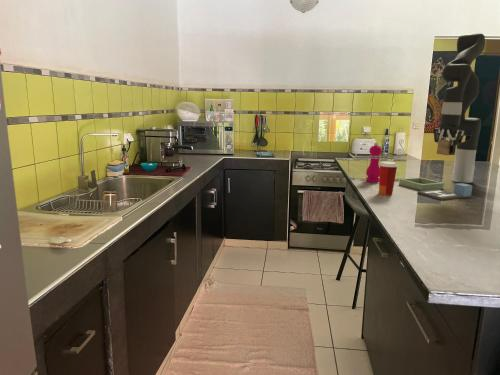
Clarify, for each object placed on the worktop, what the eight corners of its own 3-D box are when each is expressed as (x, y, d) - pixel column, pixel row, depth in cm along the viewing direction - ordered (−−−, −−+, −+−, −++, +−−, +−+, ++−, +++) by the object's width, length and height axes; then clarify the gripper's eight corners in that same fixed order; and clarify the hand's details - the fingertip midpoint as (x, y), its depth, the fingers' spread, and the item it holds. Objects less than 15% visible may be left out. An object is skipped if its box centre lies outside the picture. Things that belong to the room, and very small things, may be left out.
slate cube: (460, 193, 177) (462, 183, 176) (470, 196, 173) (472, 185, 172) (453, 194, 175) (454, 183, 174) (463, 197, 171) (464, 186, 170)
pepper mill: (380, 183, 195) (384, 143, 191) (365, 182, 197) (369, 142, 192) (379, 180, 202) (383, 142, 198) (364, 179, 204) (368, 141, 199)
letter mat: (437, 191, 180) (438, 189, 180) (463, 198, 169) (463, 195, 168) (417, 193, 175) (417, 191, 175) (441, 200, 163) (442, 198, 163)
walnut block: (444, 153, 171) (446, 139, 170) (454, 154, 167) (456, 140, 165) (436, 153, 169) (438, 139, 168) (446, 155, 165) (448, 141, 163)
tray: (419, 183, 198) (420, 177, 197) (443, 189, 186) (443, 183, 185) (398, 184, 192) (399, 179, 192) (421, 191, 180) (422, 184, 179)
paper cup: (394, 192, 175) (397, 162, 172) (394, 196, 168) (398, 164, 165) (376, 191, 177) (379, 160, 174) (375, 194, 170) (378, 163, 167)
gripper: (472, 114, 159) (466, 155, 163) (443, 112, 172) (437, 151, 176) (460, 114, 156) (454, 156, 160) (430, 112, 169) (425, 151, 173)
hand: (445, 153), depth 168 cm, fingers closed on walnut block, 5 cm apart
